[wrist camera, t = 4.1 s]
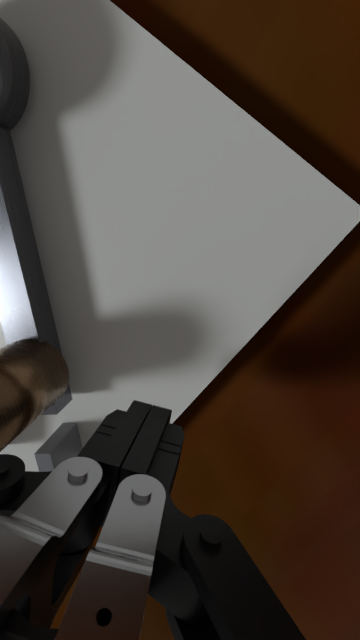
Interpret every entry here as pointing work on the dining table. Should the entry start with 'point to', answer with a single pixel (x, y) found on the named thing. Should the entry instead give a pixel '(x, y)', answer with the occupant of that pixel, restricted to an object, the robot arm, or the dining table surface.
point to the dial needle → (22, 275)
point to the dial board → (151, 217)
